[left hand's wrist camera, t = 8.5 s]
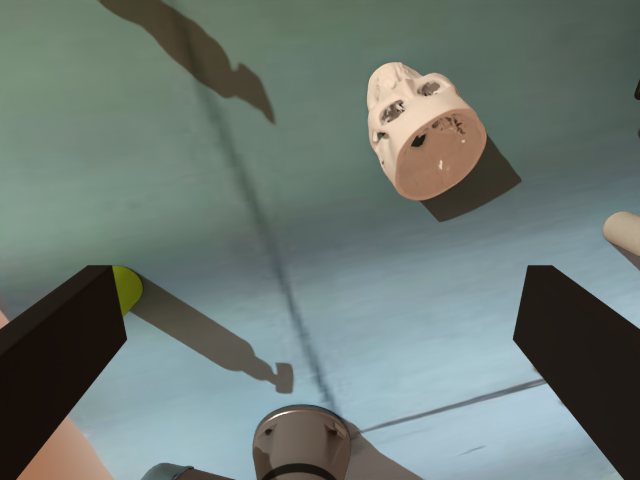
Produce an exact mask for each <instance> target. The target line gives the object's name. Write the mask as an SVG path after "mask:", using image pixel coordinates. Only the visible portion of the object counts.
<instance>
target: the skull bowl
mask: <svg viewBox="0 0 640 480" xmlns="http://www.w3.org/2000/svg"><path fill="white" fill-rule="evenodd" d="M425 93H426V95H427V96H425V95H424V94H425ZM401 103H403V104H401ZM399 104H401V105H402V107H403V108H404V109H403V108H402V107H401V106H399ZM367 107H368V110H369V116H368V126H369V137H370V143H371V146H372V148H373V150H374V151H375V152H376V154H377V155H378V158H379V160H380V163H381V166H382V169H383V171H384V172H385V174H386V175H387V177H388V178H389V180H390V181H391V182H392V184H393V185H394V187H395V188H396V190H397V191H398V193H399V194H400V195H402V196H403V197H405V198H408V199H411V200H426V199H430V198H432V197H435V196H437V195H439V194H441V193H443V192H444V191H446V190H448V189H449V188H451V187H453V186H454V185H456V184H457V183H458V182H460V181H461V180H462V179H463V178H464V177H465V176H466V175H467V174H468V173H469V172H470V171H471V170H472V169H473V167H474V166H475V165H476V163H477V162H478V160H479V158H480V156H481V154H482V152H483V150H484V148H485V144H486V137H487V136H486V131H485V128H484V126H483V124H482V123H481V121H480V120H479V118H478V116H477V114H476V113H475V111H474V110H473V109H472V108H471V107H470V106H469V105H468V104H467V103H466V102H464V101H463V100H462V99H461V98H460V95H459V92H458V90H457V89H456V87H455V86H454V85H453V84H452V82H451V81H450V80H449V79H448V78H447V77H445V76H443V75H441V74H438V73H432V74H428V75H426V76H422V75H420V74H419V73H418V72H416V71H415V70H413V69H411V68H409V67H408V66H405V65H403V64H402V63H401V62H399V63H397V62H393V63H387V64H384V65H383V66H381V67H380V68H378V69H377V70H376V71H375V72H374V73H373V74H372V76H371V78H370V80H369V85H368V94H367ZM397 109H398V110H400V111H401V113H400V111H398V112H397ZM401 109H403V110H405V111H404V112H403V113H402V110H401ZM459 114H460V115H459ZM385 117H386V118H385ZM387 121H390V122H389V123H388V122H387ZM380 132H381V133H386V134H385V135H384V136H383V137H382V138H380ZM424 134H426V135H425V140H424V141H423V144H422V145H420V146H419V147H412V146H411V144H412V142H413V141H414V139H415V137H416V136H417V135H418V137H419V138H420V137H421V136H422V135H424Z"/></svg>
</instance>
